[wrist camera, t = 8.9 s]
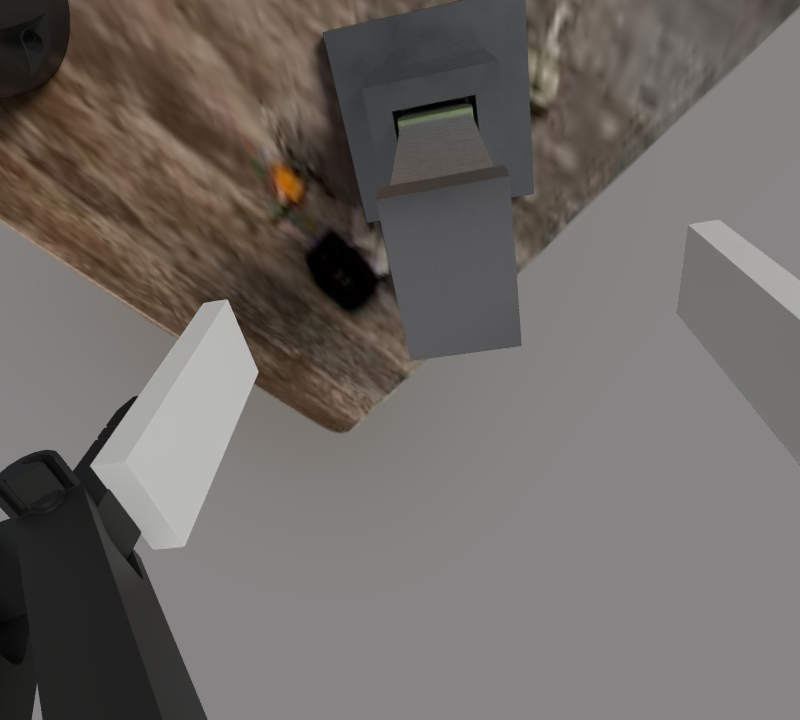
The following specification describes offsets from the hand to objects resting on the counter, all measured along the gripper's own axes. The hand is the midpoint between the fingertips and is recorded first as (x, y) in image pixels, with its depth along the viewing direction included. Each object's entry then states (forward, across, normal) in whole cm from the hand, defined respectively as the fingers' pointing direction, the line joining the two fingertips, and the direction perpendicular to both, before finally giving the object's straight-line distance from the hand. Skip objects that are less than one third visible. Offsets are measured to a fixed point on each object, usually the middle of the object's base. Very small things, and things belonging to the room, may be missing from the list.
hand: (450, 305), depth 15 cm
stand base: (+31, 0, 0) cm, 32 cm away
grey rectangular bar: (+23, 0, 0) cm, 23 cm away
